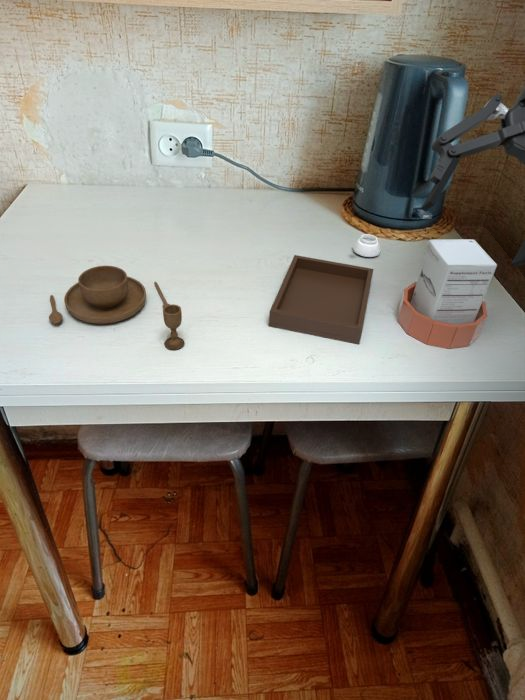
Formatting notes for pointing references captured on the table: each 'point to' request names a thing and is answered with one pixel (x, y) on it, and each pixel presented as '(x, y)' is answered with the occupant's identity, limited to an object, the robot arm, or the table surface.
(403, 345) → the table surface
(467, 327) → the terracotta ring
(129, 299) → the place setting
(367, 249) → the white jar
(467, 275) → the white packaging box
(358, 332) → the tray
